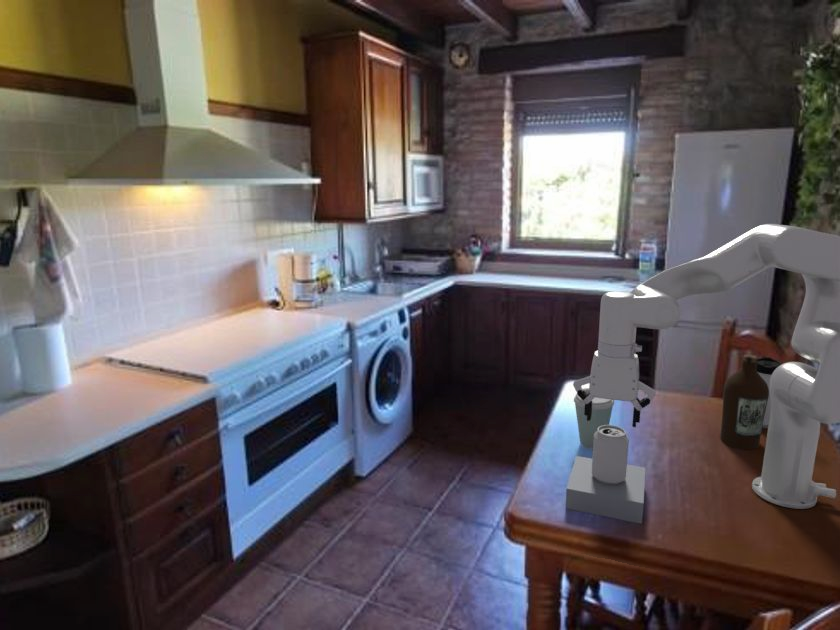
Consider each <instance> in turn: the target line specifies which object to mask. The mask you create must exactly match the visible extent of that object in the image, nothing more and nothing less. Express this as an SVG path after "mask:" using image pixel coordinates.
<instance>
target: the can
mask: <svg viewBox="0 0 840 630" xmlns="http://www.w3.org/2000/svg"><path fill="white" fill-rule="evenodd" d="M629 441H630V439H629V436H628V435H627V430H625V429H624V428H623V427H620V426H618V425H612V424H609V425H603V426H600V427H598V428H597V431H596V432H595V434H594V442H593V449H592V458H591V459H592V475H593V476H594V477H595V478H596V479H597V480H598V481H600V482H602V483H605V484H611V485H614V484H619V483H620V482H622V481H624V480H625V478H626V470H627V465H628V456H629V454H628V453H629V443H630V442H629Z"/></svg>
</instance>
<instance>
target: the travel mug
mask: <svg viewBox="0 0 840 630" xmlns="http://www.w3.org/2000/svg"><path fill="white" fill-rule="evenodd" d="M780 365H782V364H781V362H780V361H778V360H776V359H773V358H772V357H771V356H770V357H769V356H768V357H767V356H765V357H760V358H757V367H756V371H757V372H758V374H759V375H760V376H761V377H762V378H763V379H764V380H765V382H766V383H767V385H768V389H769V387H770V378H771V376H772V373H773V372H774V370H775V369H776V368H777V367H779V366H780ZM770 407H771V404H770V389H769V397H768V401H767V406H766V411H765V416H764V421H763V426H762V429H768V426H769V419H770Z"/></svg>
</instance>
